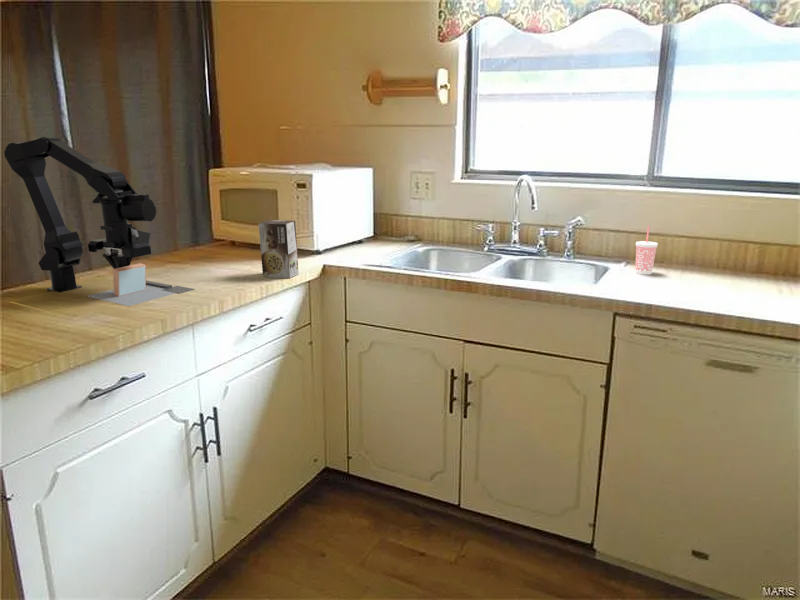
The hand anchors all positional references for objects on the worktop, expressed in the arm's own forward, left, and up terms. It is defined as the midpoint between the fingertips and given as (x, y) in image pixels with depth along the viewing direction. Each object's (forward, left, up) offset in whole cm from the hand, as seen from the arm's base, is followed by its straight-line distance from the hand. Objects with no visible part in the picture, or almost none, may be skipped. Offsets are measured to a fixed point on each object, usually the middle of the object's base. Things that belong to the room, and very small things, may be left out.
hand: (124, 279), depth 156 cm
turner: (+4, +8, -4) cm, 10 cm away
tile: (+2, 0, -3) cm, 4 cm away
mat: (+4, 0, -4) cm, 5 cm away
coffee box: (+22, +36, -4) cm, 42 cm away
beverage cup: (+114, +93, -4) cm, 147 cm away
